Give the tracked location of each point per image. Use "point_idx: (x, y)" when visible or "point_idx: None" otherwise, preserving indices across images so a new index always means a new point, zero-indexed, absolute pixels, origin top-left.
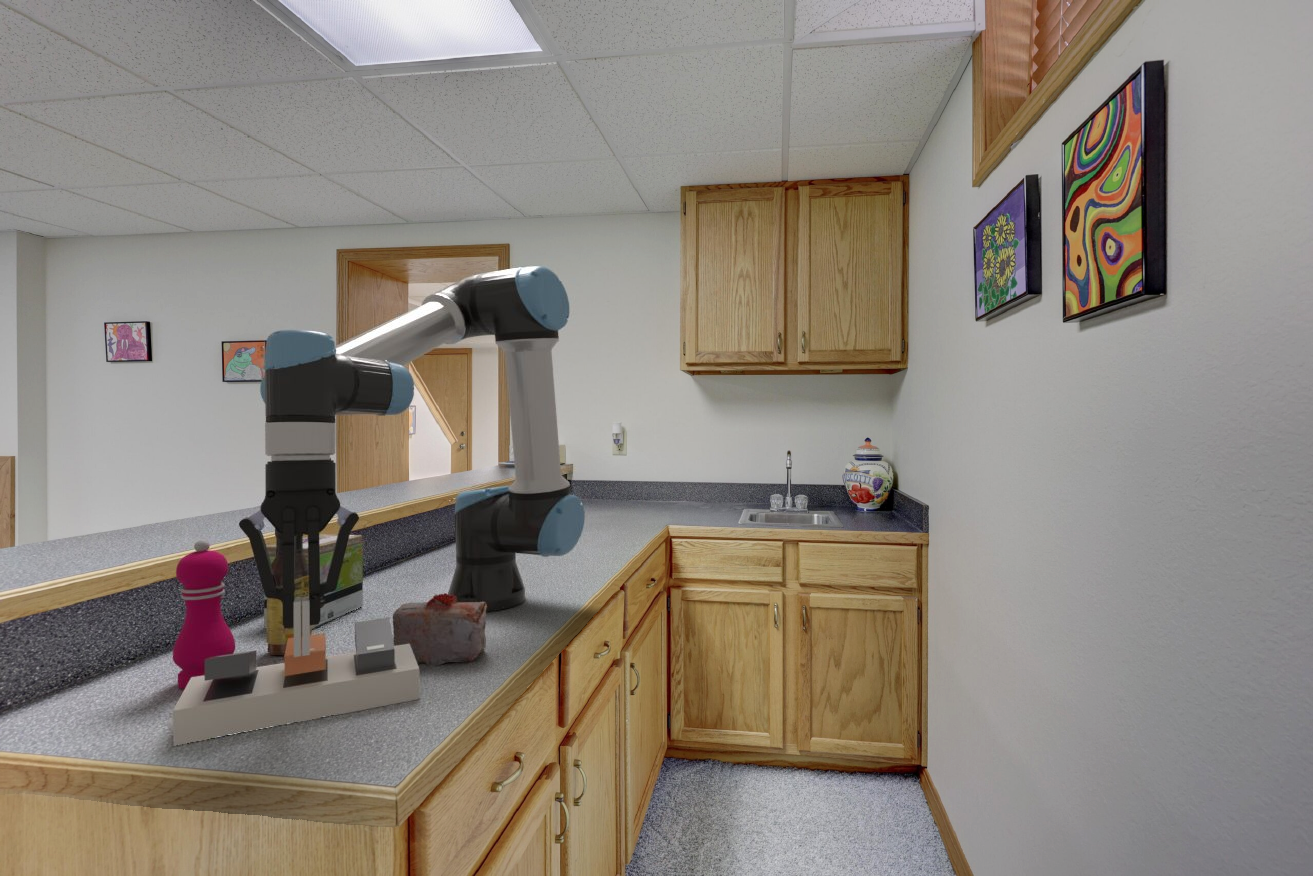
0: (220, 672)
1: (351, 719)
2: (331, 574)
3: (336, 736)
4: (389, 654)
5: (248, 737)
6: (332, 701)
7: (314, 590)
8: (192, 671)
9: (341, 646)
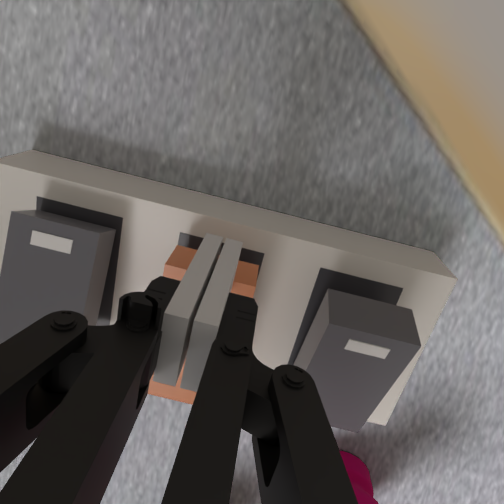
0: (384, 311)
1: (164, 148)
2: (29, 361)
3: (203, 86)
4: (31, 214)
5: (330, 202)
6: (184, 197)
7: (132, 336)
8: (358, 486)
9: (119, 485)
